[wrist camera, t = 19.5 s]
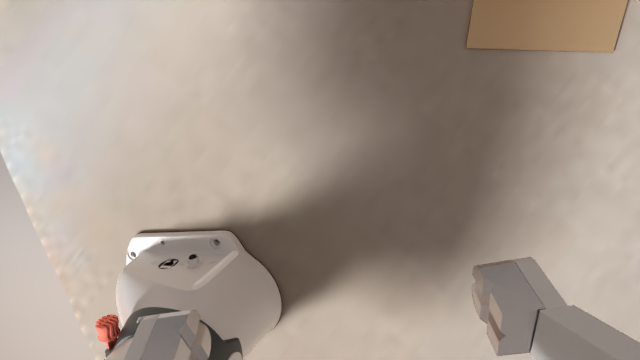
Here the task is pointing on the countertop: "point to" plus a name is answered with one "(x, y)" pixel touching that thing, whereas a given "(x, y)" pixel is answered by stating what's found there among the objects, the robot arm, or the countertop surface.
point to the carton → (546, 24)
